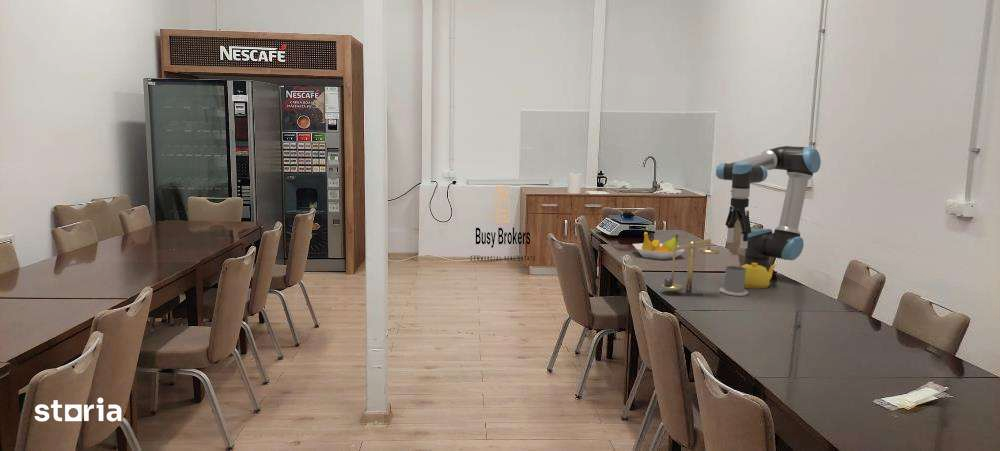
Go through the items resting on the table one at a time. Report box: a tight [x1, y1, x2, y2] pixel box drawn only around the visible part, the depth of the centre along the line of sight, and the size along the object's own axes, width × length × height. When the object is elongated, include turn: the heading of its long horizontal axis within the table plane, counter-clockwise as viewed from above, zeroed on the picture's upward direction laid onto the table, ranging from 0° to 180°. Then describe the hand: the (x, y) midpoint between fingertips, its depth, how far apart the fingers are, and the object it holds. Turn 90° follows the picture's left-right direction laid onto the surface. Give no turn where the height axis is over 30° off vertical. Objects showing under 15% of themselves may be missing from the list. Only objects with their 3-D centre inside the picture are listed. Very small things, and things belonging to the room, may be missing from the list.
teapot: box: [731, 263, 778, 290], centre depth 327 cm, size 22×16×11 cm
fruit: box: [632, 231, 686, 261], centre depth 391 cm, size 30×26×14 cm
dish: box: [719, 286, 749, 297], centre depth 312 cm, size 12×12×1 cm
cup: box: [723, 265, 746, 293], centre depth 311 cm, size 8×8×10 cm
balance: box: [660, 238, 721, 297], centre depth 307 cm, size 24×9×24 cm, turn 96°
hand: (736, 245), depth 313 cm, fingers open, 13 cm apart
